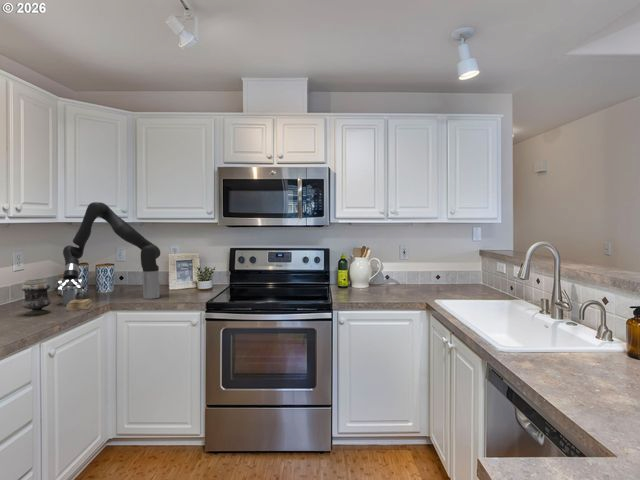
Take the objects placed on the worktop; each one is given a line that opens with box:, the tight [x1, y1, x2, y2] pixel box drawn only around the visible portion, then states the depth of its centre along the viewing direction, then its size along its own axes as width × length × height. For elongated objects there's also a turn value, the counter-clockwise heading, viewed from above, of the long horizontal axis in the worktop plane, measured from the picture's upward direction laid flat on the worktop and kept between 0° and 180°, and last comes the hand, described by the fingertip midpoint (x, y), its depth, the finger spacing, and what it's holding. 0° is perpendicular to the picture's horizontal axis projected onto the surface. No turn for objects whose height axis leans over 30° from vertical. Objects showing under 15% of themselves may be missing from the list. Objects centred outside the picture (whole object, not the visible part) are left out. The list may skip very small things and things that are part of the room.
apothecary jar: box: [21, 278, 52, 317], centre depth 191 cm, size 12×12×18 cm
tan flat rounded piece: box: [65, 298, 93, 312], centre depth 203 cm, size 10×10×4 cm
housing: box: [61, 286, 77, 307], centre depth 210 cm, size 6×6×11 cm
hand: (69, 295), depth 210 cm, fingers open, 8 cm apart
